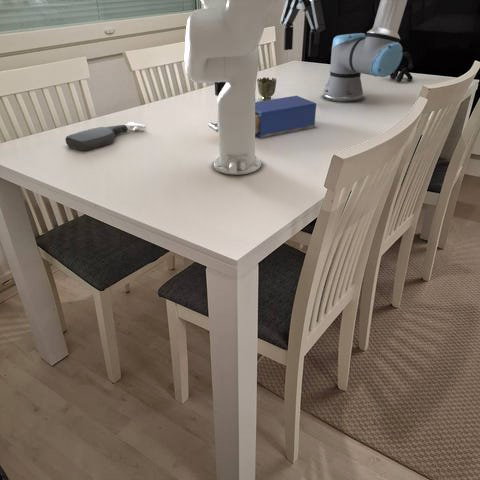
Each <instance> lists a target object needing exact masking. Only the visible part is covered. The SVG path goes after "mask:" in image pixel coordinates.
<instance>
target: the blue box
mask: <svg viewBox="0 0 480 480" xmlns="http://www.w3.org/2000/svg"><path fill="white" fill-rule="evenodd" d="M316 112H317V103H316V102H314V101H312V100H309V99H306V98H304V97H301V96H299V95H292V96H291V95H290V96H285V97H278V98H273V99H272V98H271V100H266V101H263V100H260V101H255V113H257V114H259V115H260V132H259V133H255V136H257V137H259V138H260V139H263V138H268V137H273V136H279V135H283V134H289V133H293V132H299V131H304V130H308V129H313V128H315V127H316Z"/></svg>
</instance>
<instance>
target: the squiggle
mask: <svg viewBox="0 0 480 480" xmlns="http://www.w3.org/2000/svg"><path fill="white" fill-rule="evenodd" d="M406 62H407V65H408V66H407V67H405V66H404V65H405V64H406ZM413 68H414V64H413V61H412V57H411V54H410V53H409V52H408V51H403V54H402V59H401V61H400V64H399V66H398V67H397V69H396V70H395V71H394V72H392V74H390V75H389V78H390V79H391V80H395V79H396V81H397V82H399V83H400V82H402V81H403V79H404V76H406V78H407V80H408V81H412V80H413V79H414V77H413V75H412V74H411V73H410V72H409V71H410V70H412V69H413ZM400 70H401V71H400Z"/></svg>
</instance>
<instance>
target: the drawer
mask: <svg viewBox="0 0 480 480" xmlns="http://www.w3.org/2000/svg"><path fill="white" fill-rule="evenodd" d="M208 128H210V129H212V130H213V131H214V132H216V133H218V122H217V123H213V122H208ZM259 132H260V115H259V114H257V113H255V133H259Z"/></svg>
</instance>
